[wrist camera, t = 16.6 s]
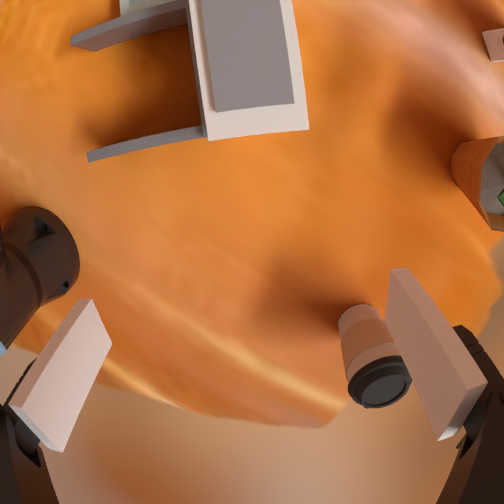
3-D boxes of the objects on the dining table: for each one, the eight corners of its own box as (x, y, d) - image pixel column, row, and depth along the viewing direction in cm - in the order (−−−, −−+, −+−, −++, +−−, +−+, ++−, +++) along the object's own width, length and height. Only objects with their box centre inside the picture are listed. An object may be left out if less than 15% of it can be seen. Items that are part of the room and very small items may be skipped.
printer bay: (110, 153, 36) (56, 176, 24) (94, 43, 29) (36, 28, 18) (292, 123, 34) (310, 130, 23) (275, 3, 27) (284, -42, 16)
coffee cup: (374, 287, 44) (412, 358, 30) (391, 326, 47) (425, 394, 33) (321, 316, 46) (341, 393, 32) (343, 351, 49) (364, 423, 36)
